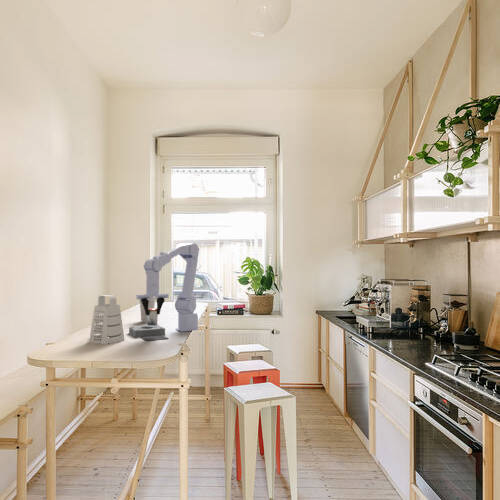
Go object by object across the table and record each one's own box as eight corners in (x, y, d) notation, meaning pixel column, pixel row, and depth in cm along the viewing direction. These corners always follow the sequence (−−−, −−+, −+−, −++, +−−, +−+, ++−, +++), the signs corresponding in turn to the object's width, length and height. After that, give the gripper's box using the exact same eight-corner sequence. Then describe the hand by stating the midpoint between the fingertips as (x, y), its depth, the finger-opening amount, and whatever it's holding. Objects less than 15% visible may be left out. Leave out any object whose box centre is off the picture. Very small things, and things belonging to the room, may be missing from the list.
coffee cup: (135, 322, 237) (135, 295, 237) (144, 319, 246) (144, 294, 246) (150, 323, 234) (150, 296, 234) (158, 320, 243) (159, 294, 243)
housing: (157, 330, 210) (157, 323, 210) (165, 334, 200) (165, 327, 200) (129, 333, 203) (129, 326, 203) (135, 337, 193) (135, 330, 193)
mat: (161, 335, 198) (161, 334, 198) (168, 339, 189) (168, 338, 189) (140, 337, 193) (140, 336, 193) (146, 341, 184) (146, 340, 184)
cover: (155, 322, 197) (156, 308, 197) (158, 325, 193) (159, 309, 193) (145, 323, 195) (145, 308, 195) (148, 325, 191) (148, 310, 191)
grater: (105, 344, 177) (105, 297, 178) (89, 341, 183) (89, 295, 183) (124, 340, 186) (124, 295, 187) (108, 337, 192) (108, 294, 192)
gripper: (139, 286, 187) (139, 316, 186) (170, 285, 194) (170, 314, 193) (135, 285, 193) (135, 314, 193) (166, 284, 200) (165, 312, 200)
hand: (152, 314), depth 193 cm, fingers closed on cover, 5 cm apart
